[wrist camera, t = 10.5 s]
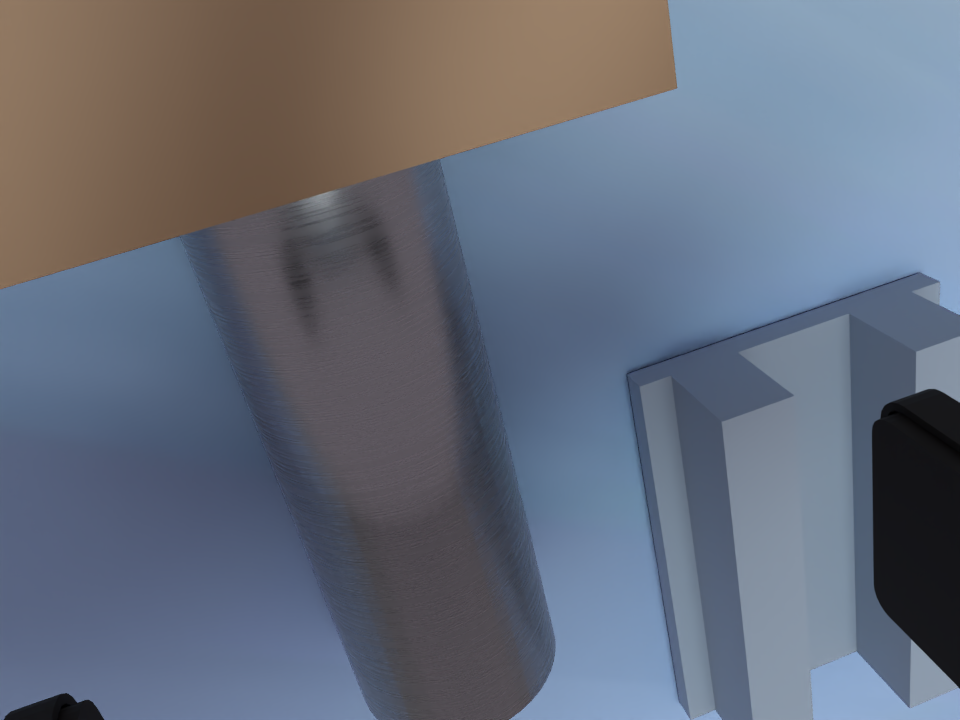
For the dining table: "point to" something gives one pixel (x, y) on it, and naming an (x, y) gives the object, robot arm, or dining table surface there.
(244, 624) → the dining table surface
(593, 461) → the dining table surface
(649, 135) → the dining table surface
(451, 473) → the axle
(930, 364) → the cradle
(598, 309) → the dining table surface
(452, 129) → the tan square block
